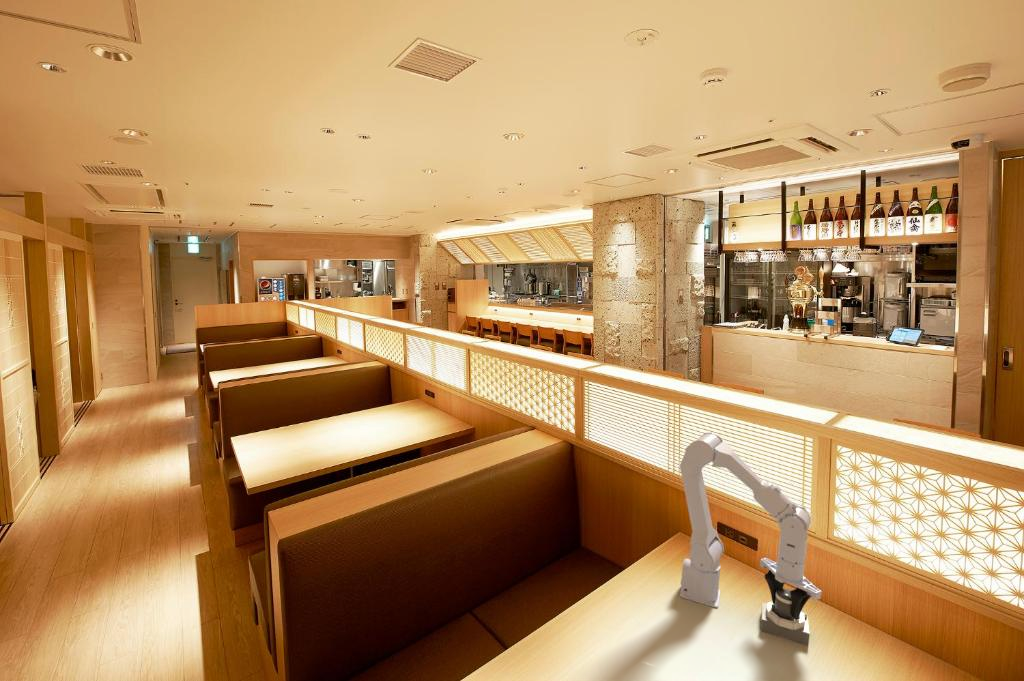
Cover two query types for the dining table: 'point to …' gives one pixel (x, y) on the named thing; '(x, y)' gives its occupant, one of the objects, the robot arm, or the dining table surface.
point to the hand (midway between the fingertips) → (785, 609)
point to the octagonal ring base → (785, 625)
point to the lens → (783, 604)
